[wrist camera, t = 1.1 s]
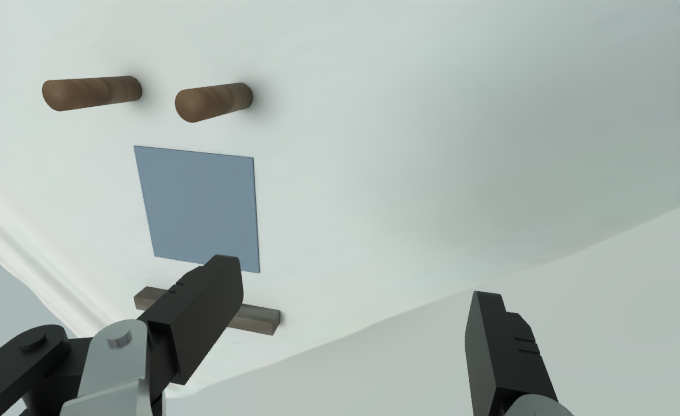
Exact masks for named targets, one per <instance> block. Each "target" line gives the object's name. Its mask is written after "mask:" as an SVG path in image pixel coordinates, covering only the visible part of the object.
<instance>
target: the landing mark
mask: <svg viewBox="0 0 680 416" xmlns="http://www.w3.org/2000/svg"><path fill="white" fill-rule="evenodd" d="M134 151H135V157H136V162H137V167H138V172H139V177H140V183H141V188H142V193H143V198H144V204H145V209H146V214H147V219H148V224H149V230H150V235H151V240H152V245H153V251H154V256H156V257H162V258H168V259H174V260H180V261H186V262H192V263H198V264H206V263H207V262H208V261H209V260H210V259H211V258H212V257H213V256H214V255H216V254H219V255H227V256H234V257H238V259H239V261H240V267H241V271H247V272H253V273H260V270H259V253H258V236H257V218H256V201H255V184H254V166H253V158H250V157H240V156H231V155H221V154H211V153H201V152H191V151H181V150H171V149H161V148H152V147H142V146H134Z"/></svg>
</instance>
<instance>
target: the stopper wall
mask: <svg viewBox="0 0 680 416" xmlns="http://www.w3.org/2000/svg"><path fill="white" fill-rule="evenodd" d="M165 292H168V290H163V289H157V288H152V287H145V288H144V289H143V290H142V291H140V292H139V293H138V294H137V295H135V296H134V302H135V306H136V309H139V310H144V311H146V310H147V309H148V308H149V307H150V306H151V305H152V304H153V303H155V302H156V301H157V300H158V299H159V298H160V297H161V296H162V295H163V294H164V293H165ZM279 323H280V315H279V311H278V310H273V309H267V308H262V307H256V306H251V305H245V304H242V305H241V307H240V309H239V311H238V312H237V313H236V315H235V316H234V318H233V319H232V320H231V322H230V323H229V325H228V326H227V327H231V328H236V329H241V330H246V331H251V332H256V333H261V334H267V335H272V336H273V334H274V332H275V330H276V329H277V327H278V325H279Z"/></svg>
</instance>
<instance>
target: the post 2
mask: <svg viewBox="0 0 680 416" xmlns="http://www.w3.org/2000/svg"><path fill="white" fill-rule="evenodd" d="M252 99H253V96H252V92H251V90H250V88H249V87H248V86H247V85H245V84H243V83H233V84H225V85H217V86H209V87H201V88H193V89H185V90H182V91H180V92H179V93H178V94H177V96H176V99H175V107H176V110H177V112H178V114H179V115H180V117H181V118H182V119H184V120H185V121H187V122H191V123H194V122H198V121H202V120H205V119H209V118H213V117H216V116H220V115H223V114H227V113H231V112H234V111H238V110H242V109H245V108H248V107H249V106H250V105H251V103H252Z"/></svg>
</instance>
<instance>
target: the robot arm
mask: <svg viewBox="0 0 680 416" xmlns="http://www.w3.org/2000/svg"><path fill="white" fill-rule="evenodd" d="M243 294H244V293H243V284H242V276H241V267H240V261H239V259H238V257H234V256H227V255H219V254H216V255H214V256H213V257H212V258H211V259H210V260H209V261H208V262H207V263H206V264H205V265H204V266H199V267H197V268H195V269H193V270H191V271H189V272H188V273H186V274H185V275H184V276H183V277H182V278H180V279H179V280H178V281H177V282H176V285H175V284H174V285H173V286H172V287H171V288H170V289H169V290H168V292H165V293H164V294H163V295H162V296H161V297H160V298H159V299H158V300H157V301H156V302H155V303H153V304H152V305H151V306H150V307H149V308H148V309H147V310H146V311H145V312H144V313H143V314H142V315H140V316H139V317H138V318H137V319H136V320H135V319H129V320H123V321H119V322H116V323H113V324H111V325H109V326H107V327H105V328H104V329H102V330H101V331H99V332H98V333H97V334H96V335H95V336H94V337H90V338H77V339H68V337H67V335H66V332H65V330H64V328H63V327H61V326H59V325H43V326H39V327H36V328H33V329H30V330H27V331H25V332H23V333H21V334H19V335H17V336H16V337H14V338H13V339H11V340H10V341H9V342H7V343H6V344H5V345H3V346H2V347H1V348H0V416H1V415H2V414H3V413H5V412H6V411H7V410H8V409H9V408H10V407H11V406H12V405H13V404H14V403H16V402H17V401H18V400H19V399H20V398H21V397H22V399H23V400H24V402H25V405H26V407H27V409H25V410H24V411H23V413H21V414H20V415H19V416H166V408H165V407H166V406H165V392H164V389H165V388H166V387H167V385H168V384H169V383H170V382H171V383H176V384H180V385H185V384H186V383H187V381H188V380H189V378H190V377H191V376H192V374H193V373H194V372H195V370H196V369H197V367H198V366H199V365H200V363H201V362H202V361H203V359H204V358H205V356H206V355H207V354H208V352H209V351H210V349H211V348H212V347H213V345H214V344H215V343H216V341H217V340H218V338H219V337H220V336H221V334H222V333H223V331H224V330H225V329H226V327H227V326H228V325H229V323H230V322H231V320H232V319H233V318H234V316H235V315H236V313H237V312H238V311H239V309H240V307H241V305H242V301H243ZM465 352H466V359H467V367H468V375H469V382H470V391H471V398H472V406H473V414H474V416H574V415H573V414H572V413H571V412H570V411H569V410H568V409H567V408H565V407H564V406H563V405H561V404H560V403H559V402H558V400H557V397H556V394H555V391H554V389H553V386H552V383H551V381H550V378H549V375H548V373H547V370H546V367H545V365H544V362H543V359H542V357H541V356H540V351H539V349H538V346H537V344H536V343H535V338H534V335H533V333H532V330H531V327H530V326H529V325H528V324H527V323H526V321H525V320H524V319H523V318H522V317H521V316H520V315H519V314H518V313H511V312H506V309H505V306H504V303H503V300H502V297H501V295H500V294H496V293H488V292H480V291H474V293H473V297H472V302H471V307H470V311H469V316H468V321H467V326H466V332H465Z"/></svg>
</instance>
